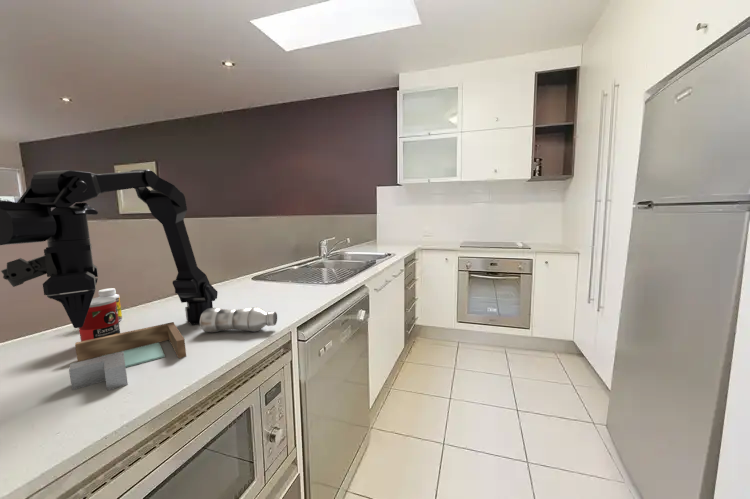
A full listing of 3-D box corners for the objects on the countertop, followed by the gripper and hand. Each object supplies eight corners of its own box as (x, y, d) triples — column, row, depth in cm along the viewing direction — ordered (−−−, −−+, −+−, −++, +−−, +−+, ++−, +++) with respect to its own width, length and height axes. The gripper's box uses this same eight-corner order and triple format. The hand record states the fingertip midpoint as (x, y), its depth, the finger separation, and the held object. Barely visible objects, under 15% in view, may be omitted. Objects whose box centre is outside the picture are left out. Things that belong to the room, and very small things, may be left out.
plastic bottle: (212, 315, 91) (280, 314, 90) (203, 337, 86) (275, 335, 86) (202, 303, 86) (274, 301, 86) (192, 325, 82) (268, 323, 81)
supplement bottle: (116, 324, 94) (111, 291, 93) (94, 326, 93) (90, 292, 92) (126, 318, 100) (122, 286, 99) (106, 320, 99) (101, 288, 97)
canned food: (98, 349, 76) (92, 305, 75) (72, 347, 78) (66, 304, 77) (128, 337, 84) (123, 297, 82) (104, 335, 85) (99, 296, 84)
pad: (159, 343, 79) (158, 342, 79) (164, 357, 71) (164, 355, 71) (101, 357, 72) (101, 356, 72) (100, 374, 64) (100, 372, 64)
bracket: (125, 369, 66) (123, 351, 65) (127, 384, 60) (125, 364, 59) (73, 383, 61) (70, 363, 60) (69, 401, 55) (66, 380, 54)
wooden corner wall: (175, 336, 83) (173, 321, 83) (186, 356, 71) (184, 339, 71) (78, 359, 71) (75, 342, 71) (72, 387, 59) (69, 367, 59)
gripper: (15, 240, 60) (28, 319, 62) (-14, 247, 46) (3, 349, 48) (93, 236, 67) (102, 307, 69) (88, 241, 53) (100, 330, 55)
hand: (80, 321), depth 60 cm, fingers open, 9 cm apart
